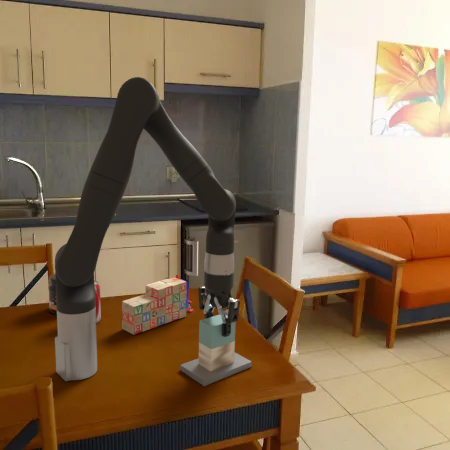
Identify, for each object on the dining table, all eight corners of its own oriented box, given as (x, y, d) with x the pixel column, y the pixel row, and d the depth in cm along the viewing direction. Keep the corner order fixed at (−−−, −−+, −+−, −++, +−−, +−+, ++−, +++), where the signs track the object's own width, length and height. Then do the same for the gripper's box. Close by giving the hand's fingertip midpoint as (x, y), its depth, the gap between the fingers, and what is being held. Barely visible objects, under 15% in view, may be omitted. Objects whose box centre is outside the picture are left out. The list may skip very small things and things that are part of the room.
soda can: (83, 328, 147) (82, 288, 145) (73, 320, 152) (72, 281, 150) (104, 322, 152) (104, 283, 149) (94, 315, 157) (93, 277, 155)
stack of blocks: (134, 335, 143) (133, 297, 140) (121, 329, 147) (121, 291, 144) (186, 316, 158) (187, 281, 156) (174, 310, 162) (174, 276, 160)
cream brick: (210, 371, 120) (211, 349, 119) (198, 363, 124) (199, 342, 123) (234, 362, 125) (234, 341, 124) (221, 355, 129) (222, 334, 128)
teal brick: (211, 349, 119) (211, 327, 118) (198, 342, 123) (199, 320, 122) (234, 341, 124) (235, 319, 123) (222, 334, 128) (223, 313, 127)
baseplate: (204, 386, 116) (204, 380, 116) (180, 370, 123) (180, 364, 123) (251, 366, 126) (251, 361, 126) (226, 352, 134) (227, 348, 133)
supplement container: (45, 308, 162) (43, 274, 160) (75, 302, 168) (74, 269, 166) (54, 318, 154) (53, 282, 152) (86, 311, 160) (85, 277, 158)
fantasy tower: (160, 302, 171) (160, 270, 169) (192, 301, 173) (193, 269, 171) (161, 314, 160) (161, 280, 157) (196, 313, 162) (196, 279, 159)
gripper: (190, 265, 122) (189, 325, 126) (226, 279, 112) (224, 345, 115) (212, 260, 127) (211, 319, 131) (249, 273, 117) (247, 337, 120)
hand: (217, 331), depth 123 cm, fingers open, 6 cm apart
